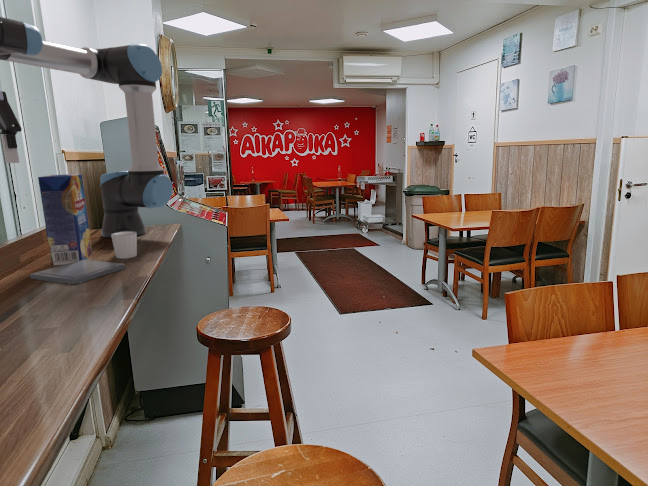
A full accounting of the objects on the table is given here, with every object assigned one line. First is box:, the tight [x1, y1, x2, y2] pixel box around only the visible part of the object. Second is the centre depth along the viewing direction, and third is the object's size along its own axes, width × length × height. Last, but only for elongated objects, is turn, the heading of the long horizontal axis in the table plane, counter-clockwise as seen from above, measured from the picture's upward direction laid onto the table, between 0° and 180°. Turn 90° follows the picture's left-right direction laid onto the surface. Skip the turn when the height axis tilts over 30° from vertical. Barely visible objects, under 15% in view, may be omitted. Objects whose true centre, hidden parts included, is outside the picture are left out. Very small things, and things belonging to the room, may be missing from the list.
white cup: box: [111, 231, 138, 260], centre depth 125 cm, size 7×7×7 cm
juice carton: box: [37, 173, 93, 266], centre depth 120 cm, size 12×8×24 cm, turn 16°
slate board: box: [29, 259, 126, 285], centre depth 108 cm, size 15×15×1 cm
